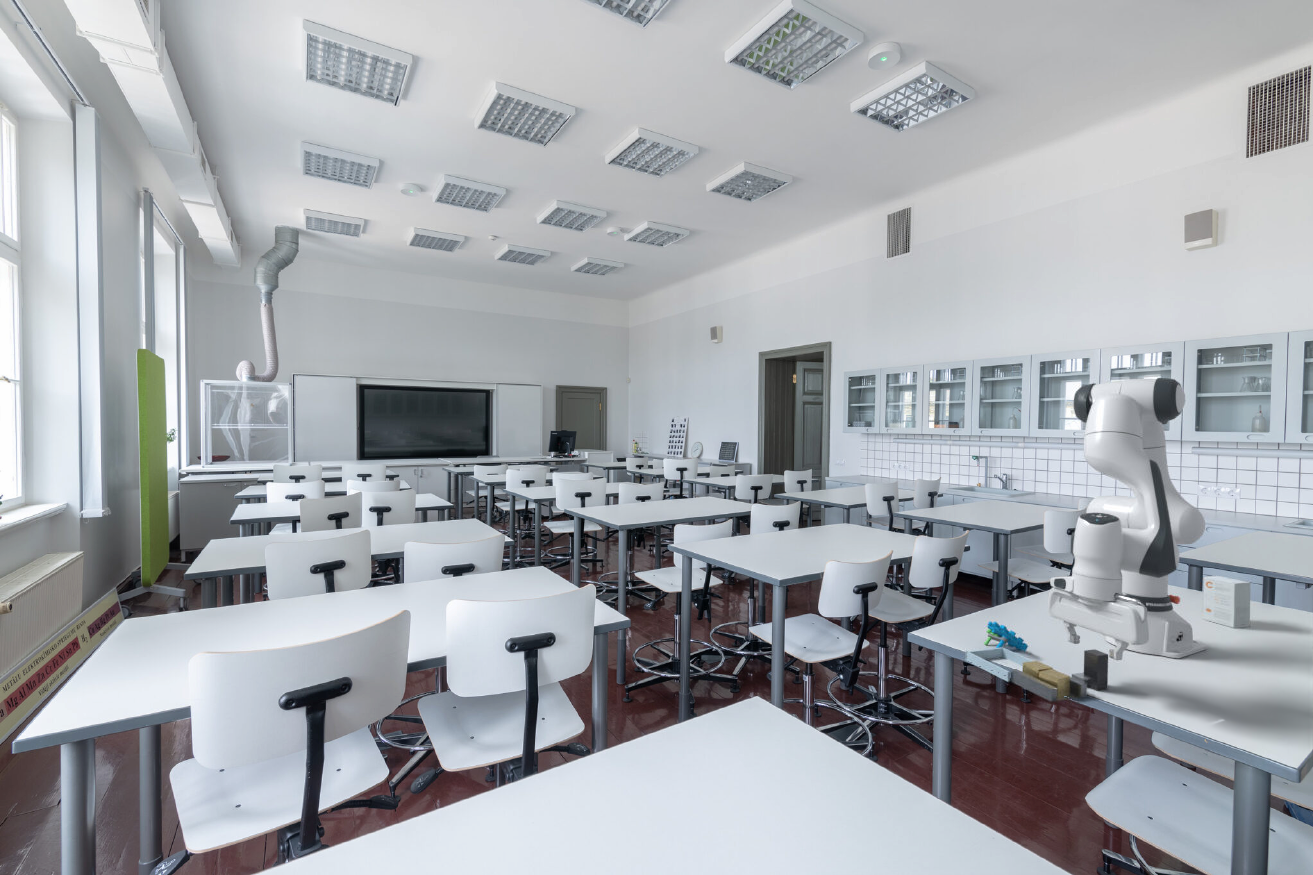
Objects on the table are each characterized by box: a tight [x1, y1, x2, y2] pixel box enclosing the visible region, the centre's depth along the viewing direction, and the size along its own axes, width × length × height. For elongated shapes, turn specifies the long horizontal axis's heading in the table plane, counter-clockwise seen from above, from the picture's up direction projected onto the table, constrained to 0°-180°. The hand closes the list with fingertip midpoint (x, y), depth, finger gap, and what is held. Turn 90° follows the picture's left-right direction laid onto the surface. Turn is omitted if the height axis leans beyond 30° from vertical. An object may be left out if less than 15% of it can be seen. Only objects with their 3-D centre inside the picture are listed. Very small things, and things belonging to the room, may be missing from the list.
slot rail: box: [1010, 668, 1088, 703], centre depth 127 cm, size 10×10×3 cm
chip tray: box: [964, 646, 1033, 683], centre depth 138 cm, size 11×12×2 cm
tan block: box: [1022, 660, 1054, 680], centre depth 130 cm, size 4×4×4 cm
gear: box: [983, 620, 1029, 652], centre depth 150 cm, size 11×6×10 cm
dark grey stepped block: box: [1071, 649, 1109, 692], centre depth 129 cm, size 5×5×8 cm
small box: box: [1202, 575, 1251, 629], centre depth 172 cm, size 8×6×13 cm
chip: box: [1039, 668, 1071, 698], centre depth 126 cm, size 4×4×4 cm
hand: (1093, 650), depth 128 cm, fingers open, 8 cm apart
